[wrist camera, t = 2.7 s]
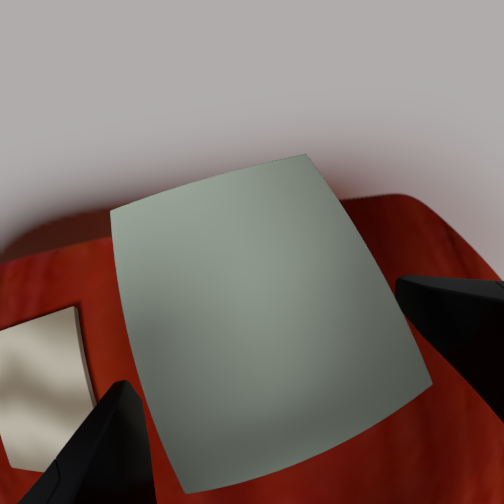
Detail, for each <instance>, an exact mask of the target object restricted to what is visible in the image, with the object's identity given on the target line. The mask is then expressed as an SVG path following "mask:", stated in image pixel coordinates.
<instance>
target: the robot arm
mask: <svg viewBox="0 0 504 504" xmlns="http://www.w3.org/2000/svg"><path fill="white" fill-rule="evenodd" d="M395 299H396V301H397V303H398V305H399V307H400V309H401V311H402V312H403V314H404V315H405V316H406V317H407V318H408V319H409V321H410V322H411V323H412V324H413V325H414V327H415V328H416V329H417V330H418V331H419V332H420V334H421V335H422V336H423V337H424V338H425V339H426V340H427V341H428V342H429V343H430V344H431V345H432V346H433V347H434V348H435V349H436V350H437V351H438V352H439V353H440V354H441V355H442V356H443V357H444V358H445V359H446V360H447V361H448V362H449V363H450V364H451V365H452V366H453V367H454V368H455V369H456V370H457V371H458V372H459V373H460V374H461V375H462V377H463V378H464V379H465V380H466V381H467V382H468V383H469V384H470V385H471V386H472V387H473V388H474V389H475V391H476V392H477V393H478V394H479V395H480V396H481V397H482V398H483V399H484V400H485V402H486V403H487V404H488V405H489V406H490V407H491V409H492V410H493V411H494V412H495V413H496V414H497V416H498V417H499V418H500V419H501V420H502V422H503V423H504V281H492V280H476V279H461V278H446V277H432V276H418V275H403V276H402V277H400V278H398V279H397V280H396V282H395ZM17 504H157V501H156V495H155V488H154V480H153V471H152V462H151V451H150V443H149V438H148V432H147V427H146V421H145V415H144V409H143V403H142V400H141V398H140V396H139V395H138V394H137V392H136V391H135V390H134V388H133V387H132V385H131V384H130V383H129V381H127V380H121V381H117V382H114V383H113V385H112V386H111V387H110V388H109V390H108V391H107V392H106V393H105V395H104V396H103V397H102V398H101V400H100V401H99V402H98V403H97V405H96V406H95V407H94V408H93V410H92V411H91V412H90V413H89V415H88V416H87V417H86V419H85V420H84V421H83V422H82V424H81V425H80V426H79V428H78V429H77V430H76V431H75V433H74V434H73V435H72V437H71V438H70V439H69V440H68V442H67V443H66V444H65V446H64V447H63V448H62V450H61V451H60V452H59V454H58V455H57V456H56V459H54V460H53V461H52V463H51V464H50V466H49V467H48V468H47V469H46V471H45V472H44V473H43V475H42V476H41V477H40V478H39V479H38V481H37V482H36V483H35V484H34V485H33V486H32V488H31V489H30V490H29V491H28V492H27V493H26V494H25V495H24V496H23V498H22V499H21V500H20V501H19V502H18V503H17Z"/></svg>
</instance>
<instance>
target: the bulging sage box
mask: <svg viewBox="0 0 504 504" xmlns="http://www.w3.org/2000/svg"><path fill="white" fill-rule="evenodd" d="M110 213H111V227H112V238H113V248H114V256H115V264H116V271H117V278H118V285H119V291H120V297H121V302H122V308H123V313H124V318H125V323H126V327H127V332H128V336H129V340H130V345H131V349H132V353H133V356H134V360H135V364H136V368H137V371H138V375H139V378H140V381H141V385H142V388H143V391H144V394H145V397H146V401H147V404H148V407H149V409H150V412H151V415H152V418H153V421H154V423H155V426H156V429H157V431H158V434H159V436H160V439H161V441H162V444H163V446H164V449H165V451H166V453H167V456H168V458H169V460H170V463H171V465H172V467H173V469H174V471H175V473H176V476H177V478H178V480H179V482H180V484H181V486H182V488H183V490H184V492H185V494H189V493H195V492H201V491H206V490H211V489H216V488H220V487H224V486H229V485H233V484H236V483H240V482H244V481H247V480H251V479H254V478H257V477H261V476H264V475H267V474H270V473H273V472H276V471H278V470H281V469H284V468H287V467H289V466H292V465H294V464H297V463H299V462H302V461H304V460H307V459H309V458H311V457H313V456H316V455H318V454H320V453H322V452H325V451H327V450H329V449H331V448H333V447H335V446H337V445H339V444H341V443H343V442H345V441H347V440H349V439H350V438H352V437H354V436H356V435H358V434H360V433H361V432H363V431H365V430H367V429H368V428H370V427H372V426H373V425H375V424H377V423H378V422H380V421H381V420H383V419H385V418H386V417H388V416H389V415H391V414H392V413H394V412H395V411H397V410H398V409H400V408H401V407H403V406H404V405H405V404H407V403H408V402H410V401H411V400H412V399H414V398H415V397H417V396H418V395H419V394H421V393H422V392H423V391H424V390H426V389H427V388H428V387H430V386H431V385H432V381H431V378H430V376H429V373H428V371H427V368H426V365H425V363H424V361H423V358H422V356H421V353H420V351H419V349H418V346H417V344H416V342H415V339H414V337H413V335H412V333H411V330H410V328H409V326H408V324H407V322H406V320H405V318H404V315H403V313H402V311H401V309H400V307H399V305H398V303H397V301H396V299H395V297H394V295H393V293H392V291H391V289H390V287H389V285H388V284H387V282H386V280H385V278H384V276H383V274H382V272H381V270H380V269H379V267H378V265H377V263H376V261H375V260H374V258H373V256H372V254H371V253H370V251H369V249H368V247H367V246H366V244H365V242H364V241H363V239H362V237H361V235H360V234H359V232H358V231H357V229H356V227H355V226H354V224H353V222H352V221H351V219H350V218H349V216H348V214H347V213H346V211H345V210H344V208H343V207H342V205H341V203H340V202H339V200H338V199H337V197H336V196H335V194H334V193H333V191H332V190H331V188H330V187H329V185H328V184H327V183H326V181H325V180H324V178H323V177H322V175H321V174H320V172H319V171H318V170H317V168H316V167H315V166H314V164H313V163H312V161H311V160H310V158H309V157H308V156H307V154H304V155H299V156H295V157H289V158H285V159H280V160H276V161H272V162H268V163H263V164H259V165H255V166H251V167H247V168H243V169H239V170H235V171H232V172H228V173H225V174H221V175H217V176H213V177H210V178H207V179H203V180H200V181H197V182H193V183H190V184H186V185H183V186H180V187H177V188H174V189H171V190H168V191H165V192H162V193H159V194H156V195H153V196H150V197H147V198H144V199H142V200H138V201H136V202H133V203H130V204H128V205H125V206H122V207H119V208H117V209H114V210H111V211H110Z"/></svg>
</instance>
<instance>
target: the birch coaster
mask: <svg viewBox="0 0 504 504" xmlns="http://www.w3.org/2000/svg"><path fill="white" fill-rule="evenodd" d="M96 405H97V403H96V400H95V396H94V393H93V389H92V385H91V381H90V377H89V372H88V368H87V363H86V358H85V353H84V348H83V342H82V336H81V330H80V323H79V315H78V309H77V308H76V307H74V306H73V307H70V308H67V309H64V310H61V311H58V312H55V313H52V314H49V315H46V316H43V317H40V318H37V319H34V320H31V321H28V322H25V323H22V324H20V325H17V326H14V327H11V328H8V329H5V330H2V331H0V434H1V438H2V441H3V444H4V447H5V450H6V453H7V456H8V459H9V462H10V465H11V467H14V468H19V469H25V470H31V471H39V472H45V471H46V469H47V468H48V467H49V466H50V464H51V463H52V461H53V460H54V459H56V456H57V455H58V454H59V452H60V451H61V450H62V448H63V447H64V446H65V444H66V443H67V442H68V440H69V439H70V438H71V437H72V435H73V434H74V433H75V431H76V430H77V429H78V428H79V426H80V425H81V424H82V422H83V421H84V420H85V419H86V417H87V416H88V415H89V413H90V412H91V411H92V410H93V408H94V407H95V406H96Z"/></svg>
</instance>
